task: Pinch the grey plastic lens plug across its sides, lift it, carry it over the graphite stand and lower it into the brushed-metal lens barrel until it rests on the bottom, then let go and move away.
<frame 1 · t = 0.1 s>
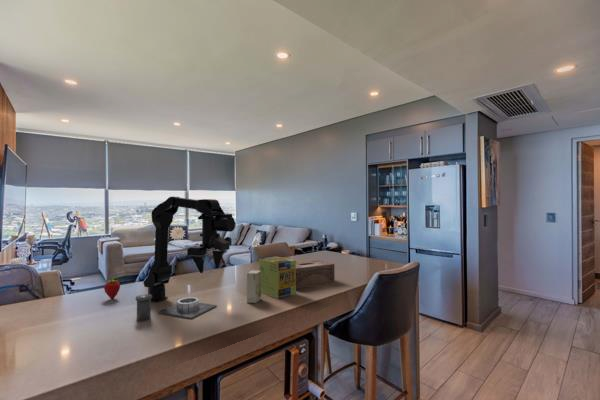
hand: (209, 270, 116), 15 cm above the counter, tool pointing down, fingers open, 9 cm apart
strawberry: (112, 299, 126), on the counter
barrel stand: (187, 309, 113), on the counter
lens plug: (143, 318, 104), on the counter
protein box: (277, 293, 136), on the counter
tissue box cover: (306, 283, 154), on the counter
skincare box: (254, 301, 124), on the counter
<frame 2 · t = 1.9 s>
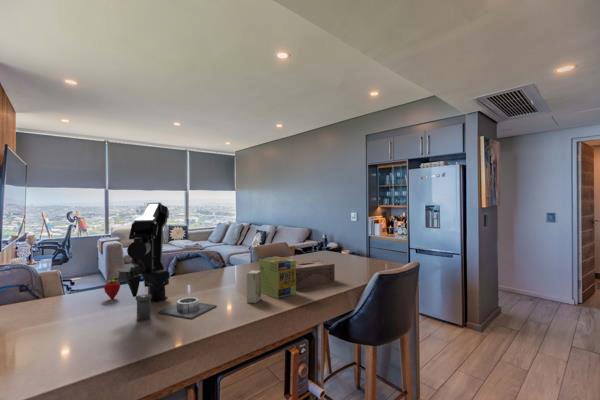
hand: (143, 298, 105), 7 cm above the counter, tool pointing down, fingers open, 9 cm apart
nothing on the counter moved.
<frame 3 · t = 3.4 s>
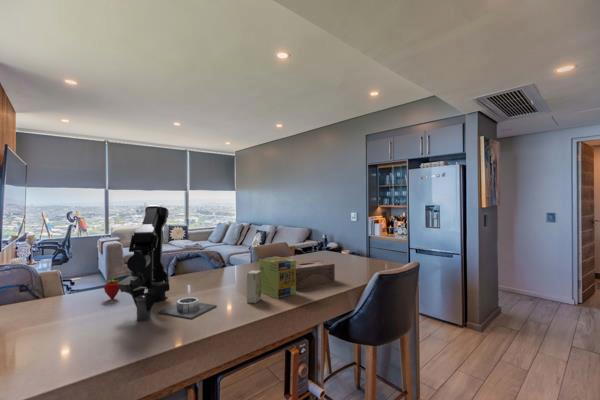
hand: (143, 310, 104), 3 cm above the counter, tool pointing down, fingers closed on lens plug, 4 cm apart
lens plug: (143, 318, 104), on the counter, touching gripper
everything else where it was.
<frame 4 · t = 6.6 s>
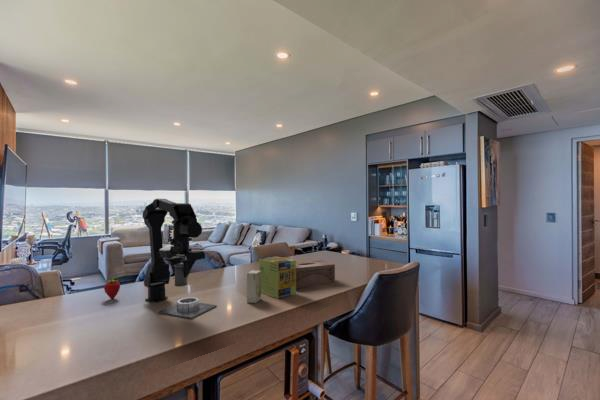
hand: (181, 276, 112), 13 cm above the counter, tool pointing down, fingers closed on lens plug, 4 cm apart
lens plug: (180, 285, 112), point 10 cm above the counter, touching gripper
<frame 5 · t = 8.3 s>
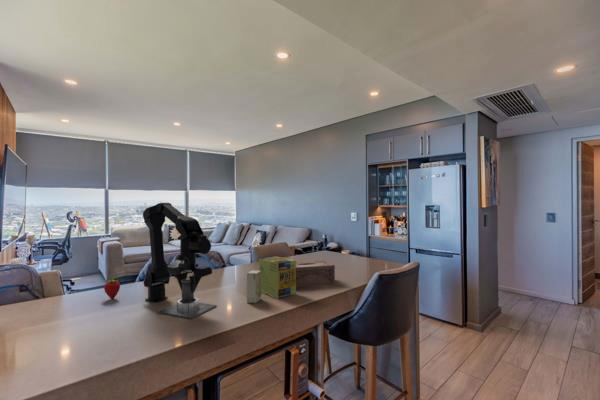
hand: (187, 292, 113), 7 cm above the counter, tool pointing down, fingers closed on lens plug, 4 cm apart
lens plug: (187, 300, 113), point 4 cm above the counter, touching gripper
when the fingers open (5 cm above the counter, at t = 9.6 s): lens plug stays where it is, resting on barrel stand.
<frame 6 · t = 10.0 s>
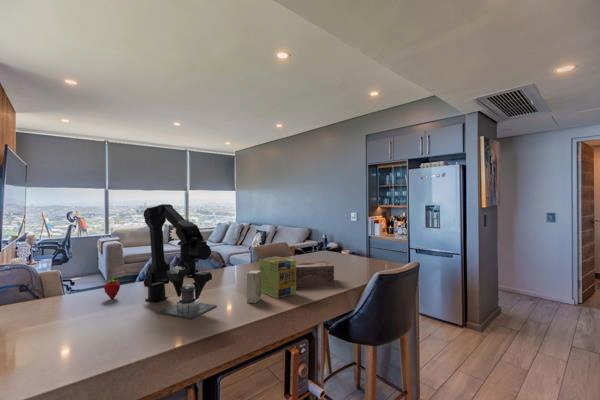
hand: (187, 297, 113), 5 cm above the counter, tool pointing down, fingers open, 8 cm apart
lens plug: (187, 308, 113), point 1 cm above the counter, touching barrel stand
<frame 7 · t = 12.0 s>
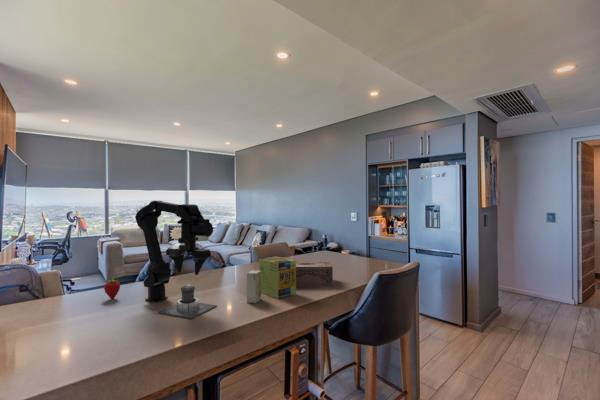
hand: (187, 273, 119), 13 cm above the counter, tool pointing down, fingers open, 9 cm apart
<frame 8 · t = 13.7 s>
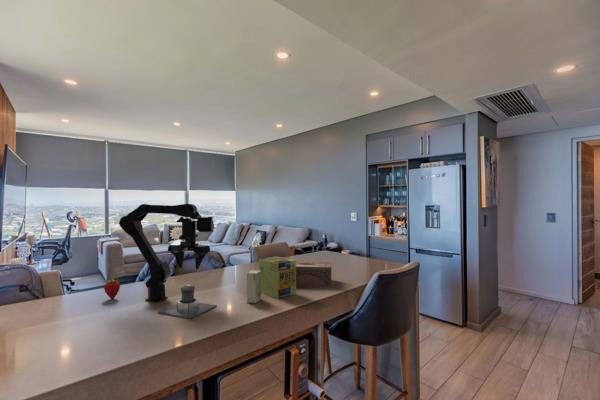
hand: (188, 268, 128), 13 cm above the counter, tool pointing down, fingers open, 9 cm apart
at the end: lens plug 0.1 cm off-centre on the barrel stand, point 0.6 cm above the barrel stand's base; lens plug tilted 0°; the gripper is holding nothing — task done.
